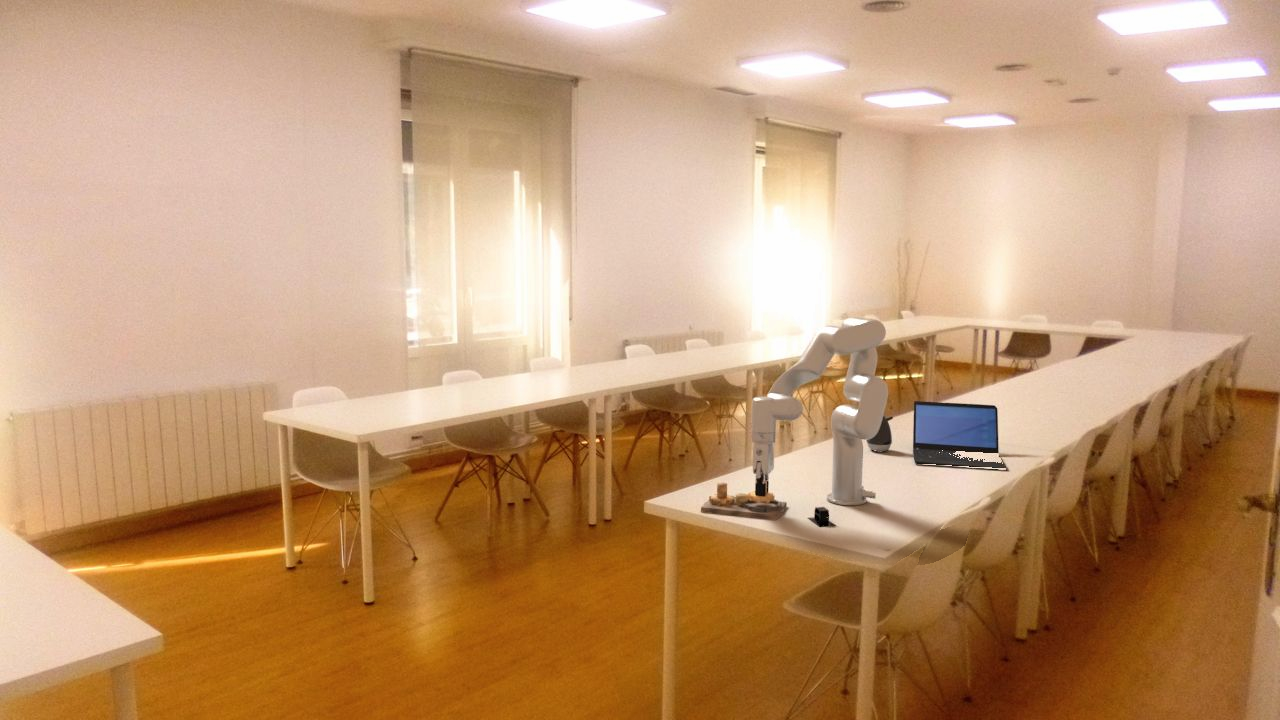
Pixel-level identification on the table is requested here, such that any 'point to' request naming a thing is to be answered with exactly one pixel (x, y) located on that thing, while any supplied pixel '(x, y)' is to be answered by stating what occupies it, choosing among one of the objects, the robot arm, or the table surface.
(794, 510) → the table surface
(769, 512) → the carrier
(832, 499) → the robot arm
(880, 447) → the pump dispenser
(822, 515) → the black slotted bracket
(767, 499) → the gear
